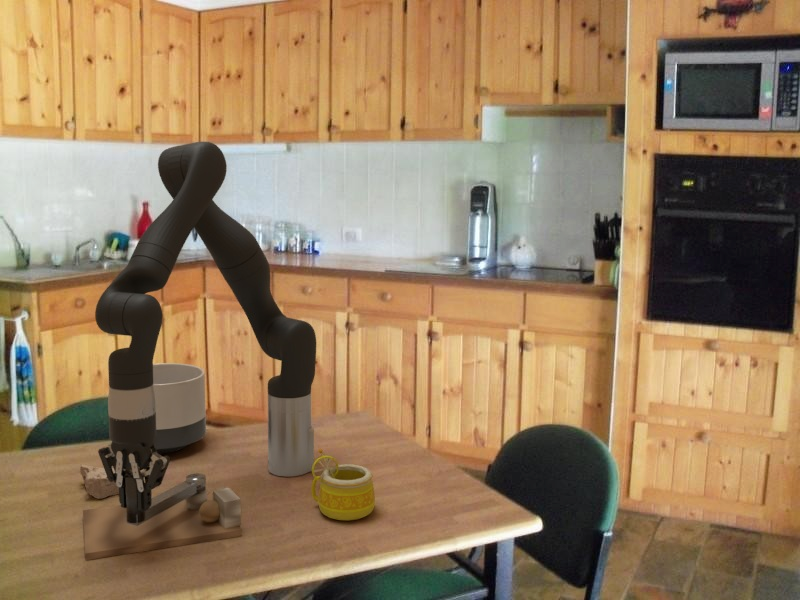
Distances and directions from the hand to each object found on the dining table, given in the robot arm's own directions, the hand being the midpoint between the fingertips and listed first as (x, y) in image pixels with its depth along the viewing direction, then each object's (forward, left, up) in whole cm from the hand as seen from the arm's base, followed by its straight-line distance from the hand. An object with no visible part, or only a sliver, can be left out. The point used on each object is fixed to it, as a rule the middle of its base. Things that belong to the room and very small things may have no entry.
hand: (135, 507), depth 138 cm
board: (-5, -7, -7) cm, 11 cm away
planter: (-10, -49, -7) cm, 50 cm away
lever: (-6, -6, -3) cm, 9 cm away
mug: (-38, -2, -7) cm, 38 cm away
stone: (+5, -27, -8) cm, 29 cm away
